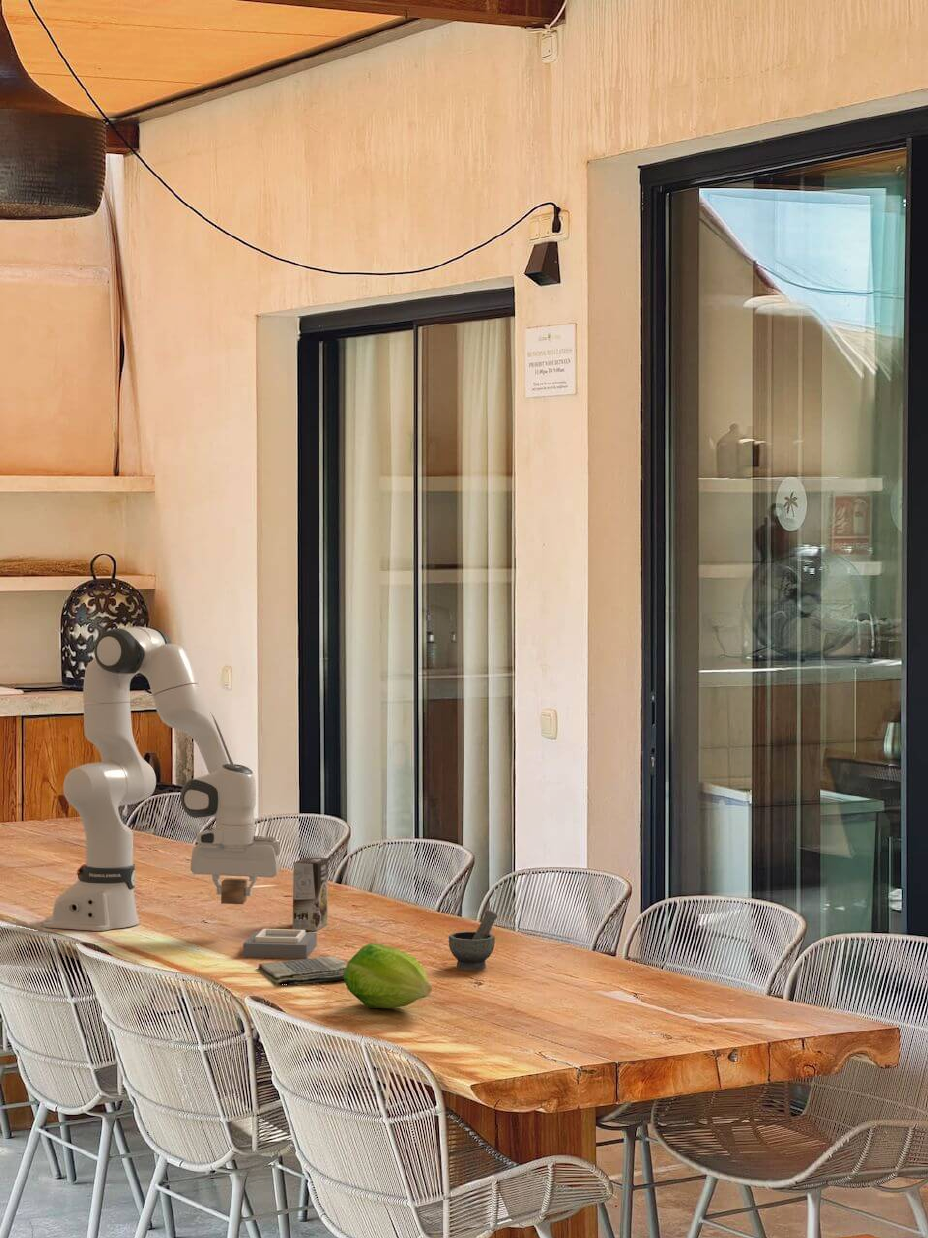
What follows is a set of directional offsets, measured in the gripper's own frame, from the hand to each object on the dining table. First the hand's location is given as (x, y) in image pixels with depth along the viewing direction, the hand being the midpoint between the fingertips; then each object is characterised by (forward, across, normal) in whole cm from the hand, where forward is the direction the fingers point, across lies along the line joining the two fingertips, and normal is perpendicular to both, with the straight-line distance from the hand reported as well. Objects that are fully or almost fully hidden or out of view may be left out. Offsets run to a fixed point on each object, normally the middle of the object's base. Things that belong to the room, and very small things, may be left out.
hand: (234, 895), depth 416 cm
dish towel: (+10, -24, +37) cm, 45 cm away
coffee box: (+10, -16, -15) cm, 24 cm away
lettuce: (+9, -45, +66) cm, 80 cm away
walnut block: (+2, 0, 0) cm, 2 cm away
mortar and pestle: (+9, -58, +25) cm, 63 cm away
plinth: (+10, -14, +14) cm, 22 cm away
